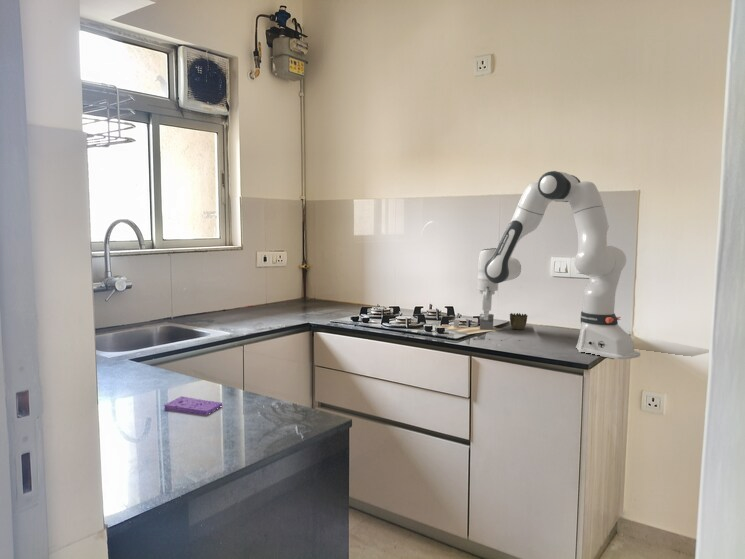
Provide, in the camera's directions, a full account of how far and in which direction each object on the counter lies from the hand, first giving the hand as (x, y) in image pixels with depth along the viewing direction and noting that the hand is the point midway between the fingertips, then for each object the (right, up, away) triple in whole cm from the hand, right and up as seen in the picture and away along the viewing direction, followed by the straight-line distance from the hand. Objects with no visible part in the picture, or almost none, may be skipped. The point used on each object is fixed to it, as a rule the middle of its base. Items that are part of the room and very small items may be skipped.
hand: (485, 317), depth 246 cm
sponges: (-94, -17, -103) cm, 140 cm away
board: (-7, -6, +2) cm, 9 cm away
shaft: (-12, -4, +2) cm, 13 cm away
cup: (+14, -7, 0) cm, 15 cm away
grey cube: (0, -5, 0) cm, 5 cm away
